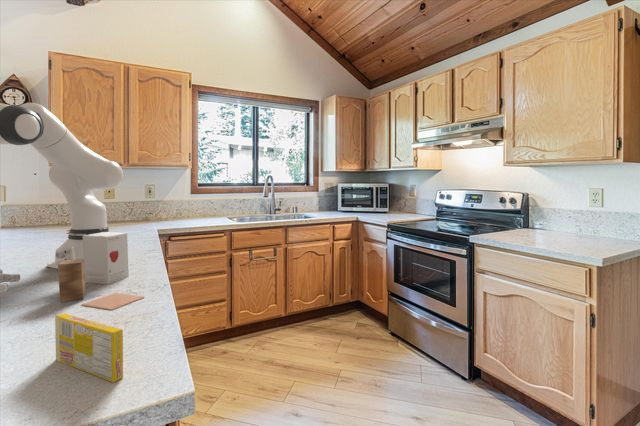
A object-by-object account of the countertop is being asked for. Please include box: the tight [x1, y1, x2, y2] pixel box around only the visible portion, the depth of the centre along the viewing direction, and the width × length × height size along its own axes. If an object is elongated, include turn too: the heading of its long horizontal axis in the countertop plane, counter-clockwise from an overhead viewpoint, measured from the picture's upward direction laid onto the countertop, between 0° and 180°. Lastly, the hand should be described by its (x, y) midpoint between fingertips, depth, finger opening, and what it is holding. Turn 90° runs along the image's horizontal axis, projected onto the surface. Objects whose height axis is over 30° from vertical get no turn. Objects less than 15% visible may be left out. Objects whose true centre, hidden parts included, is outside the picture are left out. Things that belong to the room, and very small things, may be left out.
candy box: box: [54, 312, 124, 384], centre depth 60 cm, size 16×2×8 cm, turn 64°
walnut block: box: [57, 259, 87, 303], centre depth 94 cm, size 5×5×10 cm
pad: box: [81, 292, 145, 311], centre depth 93 cm, size 10×10×1 cm
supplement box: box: [83, 231, 129, 285], centre depth 113 cm, size 9×9×15 cm
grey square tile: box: [44, 292, 102, 307], centre depth 95 cm, size 9×9×1 cm
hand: (13, 282), depth 89 cm, fingers open, 8 cm apart
